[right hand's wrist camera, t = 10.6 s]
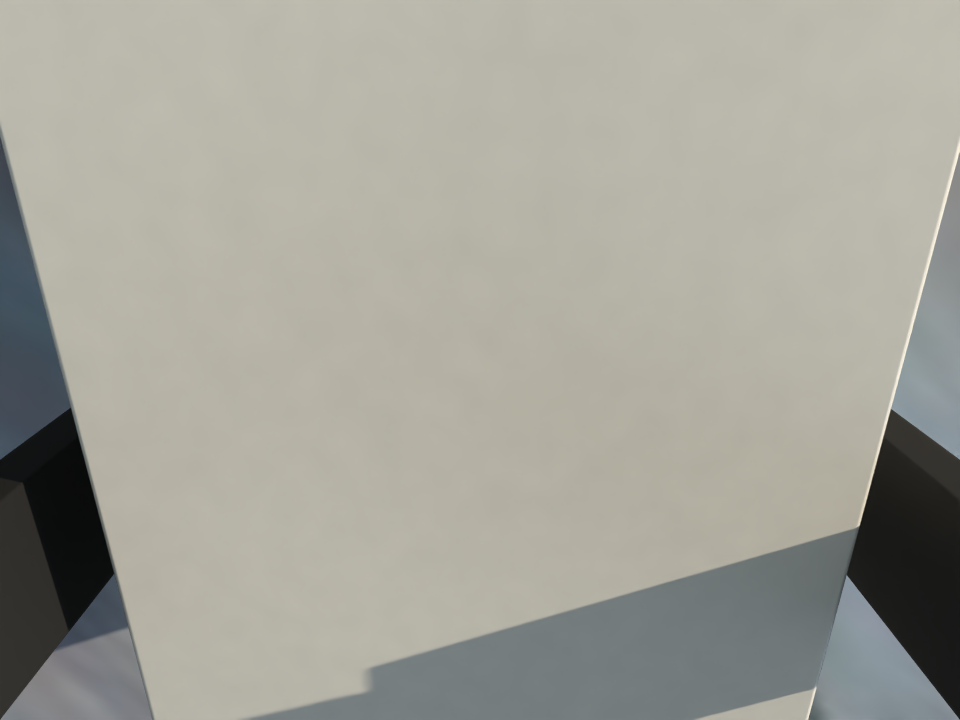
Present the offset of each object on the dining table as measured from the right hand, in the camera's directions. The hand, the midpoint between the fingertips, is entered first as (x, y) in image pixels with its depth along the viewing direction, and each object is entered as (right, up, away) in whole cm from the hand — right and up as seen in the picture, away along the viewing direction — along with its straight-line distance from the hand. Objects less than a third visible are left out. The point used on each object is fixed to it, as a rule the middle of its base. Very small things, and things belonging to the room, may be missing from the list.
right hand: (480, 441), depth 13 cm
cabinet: (0, +8, +1) cm, 9 cm away
